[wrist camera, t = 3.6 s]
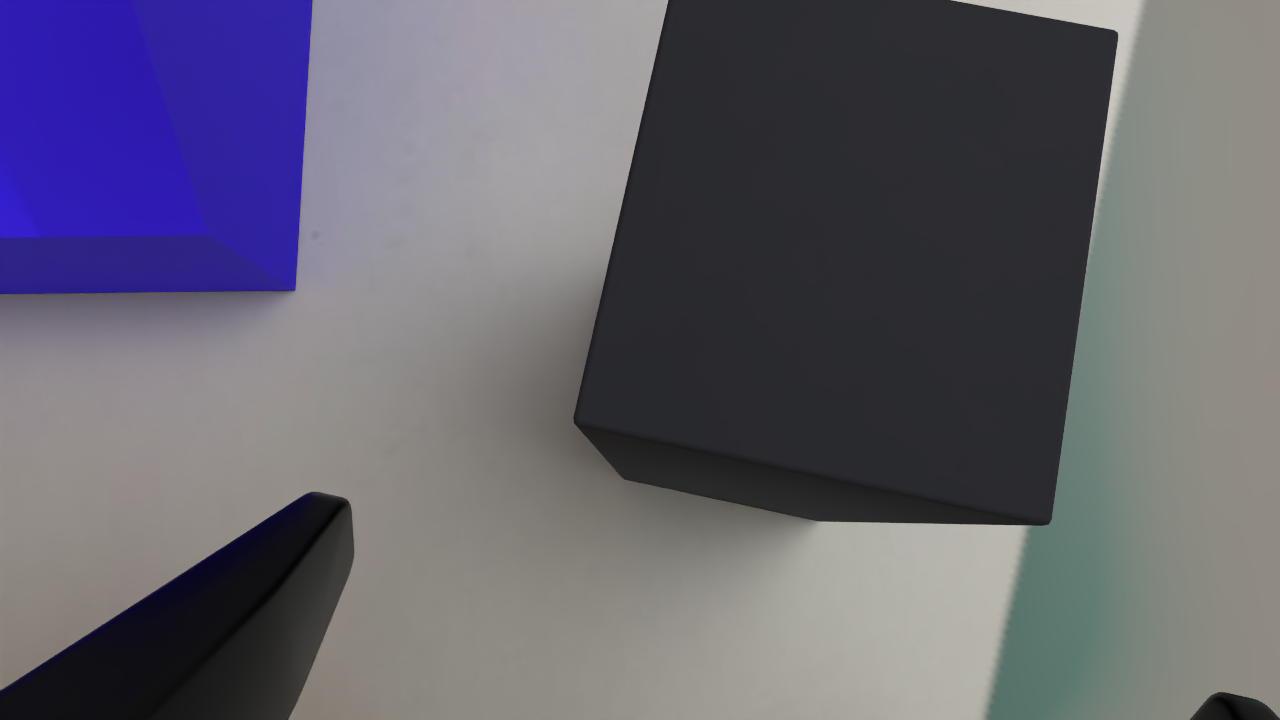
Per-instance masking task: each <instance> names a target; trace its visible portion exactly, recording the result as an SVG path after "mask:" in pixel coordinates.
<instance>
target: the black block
mask: <svg viewBox="0 0 1280 720" xmlns="http://www.w3.org/2000/svg"><path fill="white" fill-rule="evenodd" d="M1117 42H1118V32H1116V31H1114V30H1110V29H1105V28H1099V27H1094V26H1088V25H1083V24H1077V23H1072V22H1066V21H1061V20H1055V19H1050V18H1044V17H1039V16H1033V15H1028V14H1023V13H1017V12H1012V11H1006V10H1001V9H995V8H990V7H984V6H979V5H973V4H968V3H962V2H957V1H951V0H668V5H667V9H666V14H665V18H664V22H663V27H662V31H661V36H660V40H659V44H658V49H657V53H656V58H655V62H654V66H653V71H652V75H651V80H650V84H649V88H648V93H647V97H646V101H645V106H644V110H643V115H642V119H641V123H640V128H639V132H638V137H637V141H636V145H635V150H634V154H633V159H632V163H631V167H630V172H629V176H628V181H627V185H626V189H625V194H624V198H623V203H622V207H621V211H620V216H619V220H618V224H617V229H616V233H615V238H614V242H613V246H612V251H611V255H610V260H609V264H608V268H607V273H606V277H605V282H604V286H603V290H602V295H601V299H600V304H599V308H598V312H597V317H596V321H595V326H594V330H593V334H592V339H591V343H590V347H589V352H588V356H587V361H586V365H585V369H584V374H583V378H582V383H581V387H580V391H579V396H578V400H577V405H576V409H575V413H574V424H575V425H576V426H577V427H578V428H579V429H580V430H581V431H582V433H583V434H584V435H585V436H586V437H587V438H588V439H589V440H590V442H591V443H592V444H593V445H594V446H595V447H596V448H597V449H598V451H599V452H600V453H601V454H602V455H603V456H604V457H605V458H606V460H607V461H608V462H609V463H610V464H611V465H612V466H613V467H614V469H615V470H616V471H617V472H618V473H619V474H620V475H621V477H622V478H624V479H625V480H630V481H635V482H639V483H644V484H649V485H653V486H658V487H662V488H667V489H672V490H676V491H681V492H686V493H690V494H695V495H700V496H704V497H709V498H713V499H718V500H723V501H727V502H732V503H737V504H741V505H746V506H750V507H755V508H760V509H764V510H769V511H774V512H778V513H783V514H787V515H792V516H797V517H801V518H806V519H811V520H815V521H827V522H880V523H933V524H986V525H1039V526H1041V525H1042V526H1043V525H1048V524H1049V523H1050V521H1051V519H1052V511H1053V504H1054V497H1055V490H1056V483H1057V475H1058V468H1059V460H1060V454H1061V446H1062V439H1063V432H1064V425H1065V417H1066V410H1067V403H1068V395H1069V389H1070V381H1071V374H1072V367H1073V360H1074V353H1075V345H1076V338H1077V331H1078V323H1079V316H1080V309H1081V302H1082V294H1083V288H1084V280H1085V273H1086V266H1087V259H1088V251H1089V244H1090V237H1091V230H1092V222H1093V215H1094V208H1095V201H1096V194H1097V186H1098V179H1099V172H1100V165H1101V157H1102V150H1103V143H1104V136H1105V128H1106V121H1107V114H1108V107H1109V100H1110V92H1111V85H1112V78H1113V71H1114V63H1115V56H1116V49H1117Z"/></svg>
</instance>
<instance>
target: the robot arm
mask: <svg viewBox="0 0 1280 720" xmlns="http://www.w3.org/2000/svg"><path fill="white" fill-rule="evenodd" d="M353 559H354V539H353V524H352V510H351V505H350V503H349V501H348V500H347V499H345V498H343V497H339V496H334V495H330V494H325V493H321V492H310V493H307V494H305V495H303V496H302V497H300V498H298V499H297V500H295V501H294V502H292V503H291V504H289V505H288V506H286V507H284V508H283V509H281V510H280V511H278V512H277V513H275V514H274V515H272V516H271V517H269V518H267V519H266V520H264V521H263V522H261V523H260V524H258V525H257V526H255V527H253V528H252V529H250V530H249V531H247V532H246V533H244V534H243V535H241V536H240V537H238V538H236V539H235V540H233V541H232V542H230V543H229V544H227V545H226V546H224V547H222V548H221V549H219V550H218V551H216V552H215V553H213V554H212V555H210V556H209V557H207V558H205V559H204V560H202V561H201V562H199V563H198V564H196V565H195V566H193V567H191V568H190V569H188V570H187V571H185V572H184V573H182V574H181V575H179V576H178V577H176V578H174V579H173V580H171V581H170V582H168V583H167V584H165V585H164V586H162V587H160V588H159V589H157V590H156V591H154V592H153V593H151V594H150V595H148V596H147V597H145V598H143V599H142V600H140V601H139V602H137V603H136V604H134V605H133V606H131V607H129V608H128V609H126V610H125V611H123V612H122V613H120V614H119V615H117V616H116V617H114V618H112V619H111V620H109V621H108V622H106V623H105V624H103V625H102V626H100V627H98V628H97V629H95V630H94V631H92V632H91V633H89V634H88V635H86V636H85V637H83V638H81V639H80V640H78V641H77V642H75V643H74V644H72V645H71V646H69V647H67V648H66V649H64V650H63V651H61V652H60V653H58V654H57V655H55V656H54V657H52V658H50V659H49V660H47V661H46V662H44V663H43V664H41V665H40V666H38V667H36V668H35V669H33V670H32V671H30V672H29V673H27V674H26V675H24V676H23V677H21V678H19V679H18V680H16V681H15V682H13V683H12V684H10V685H9V686H7V687H5V688H4V689H2V690H1V691H0V720H288V719H289V717H290V715H291V713H292V711H293V709H294V707H295V705H296V703H297V701H298V699H299V696H300V694H301V692H302V689H303V687H304V685H305V682H306V680H307V677H308V675H309V673H310V670H311V668H312V665H313V663H314V660H315V658H316V655H317V653H318V650H319V648H320V645H321V643H322V640H323V638H324V635H325V633H326V631H327V628H328V626H329V623H330V621H331V618H332V616H333V613H334V611H335V608H336V606H337V603H338V601H339V598H340V596H341V593H342V591H343V589H344V586H345V584H346V581H347V579H348V576H349V574H350V571H351V567H352V564H353ZM1190 720H1280V718H1279V717H1278V716H1277V715H1276V714H1275V713H1274V712H1273V711H1272V710H1271V709H1270V708H1269V707H1268V706H1267V705H1265V704H1263V703H1262V702H1260V701H1258V700H1255V699H1252V698H1247V697H1243V696H1238V695H1234V694H1229V693H1224V692H1219V693H1216V694H1213V695H1211V696H1210V697H1209V698H1208V699H1207V700H1206V701H1205V702H1204V704H1203V705H1202V706H1201V707H1200V708H1199V710H1198V711H1197V712H1196V713H1195V714H1194V715H1193V717H1192V718H1191V719H1190Z"/></svg>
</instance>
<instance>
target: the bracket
mask: <svg viewBox="0 0 1280 720" xmlns="http://www.w3.org/2000/svg"><path fill="white" fill-rule="evenodd" d="M311 12H312V0H0V294H33V293H116V292H200V291H283V290H295V284H296V267H297V250H298V233H299V216H300V199H301V182H302V165H303V148H304V131H305V114H306V97H307V80H308V63H309V46H310V29H311Z"/></svg>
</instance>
